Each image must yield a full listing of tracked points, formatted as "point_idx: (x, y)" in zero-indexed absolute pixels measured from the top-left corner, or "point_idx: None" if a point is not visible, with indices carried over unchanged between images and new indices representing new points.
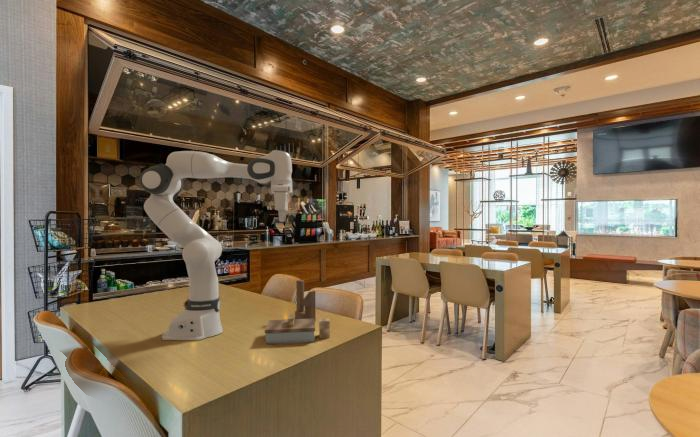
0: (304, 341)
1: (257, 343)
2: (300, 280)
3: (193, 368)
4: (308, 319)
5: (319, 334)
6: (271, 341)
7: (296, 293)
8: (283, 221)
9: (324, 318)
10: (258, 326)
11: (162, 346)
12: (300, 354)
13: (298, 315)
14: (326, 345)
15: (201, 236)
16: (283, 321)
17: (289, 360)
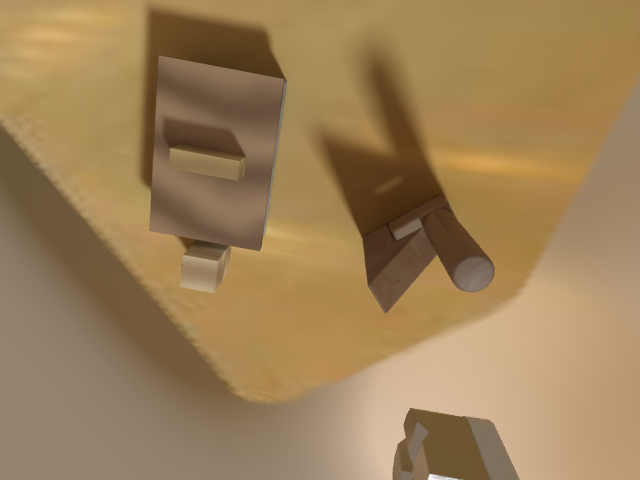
0: None
1: (195, 32)
2: (471, 275)
3: None
4: (252, 227)
5: (197, 240)
6: None
7: (457, 231)
8: (403, 441)
9: (214, 278)
10: (394, 40)
11: None
12: (77, 159)
13: (421, 209)
14: (134, 241)
15: None
16: (250, 135)
17: (38, 123)
